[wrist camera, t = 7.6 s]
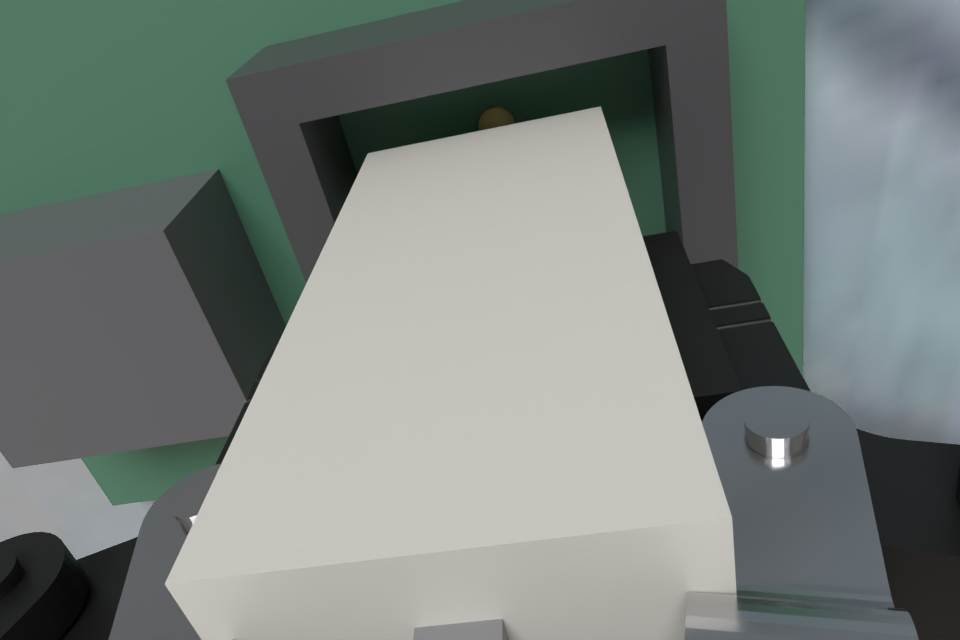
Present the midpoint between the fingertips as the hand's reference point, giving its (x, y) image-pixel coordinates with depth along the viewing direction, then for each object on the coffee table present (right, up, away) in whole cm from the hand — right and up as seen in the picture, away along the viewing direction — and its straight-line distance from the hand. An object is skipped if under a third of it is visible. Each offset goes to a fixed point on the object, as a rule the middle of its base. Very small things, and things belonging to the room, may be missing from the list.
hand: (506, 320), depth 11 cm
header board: (-3, +2, +4) cm, 5 cm away
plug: (0, +1, +2) cm, 2 cm away
